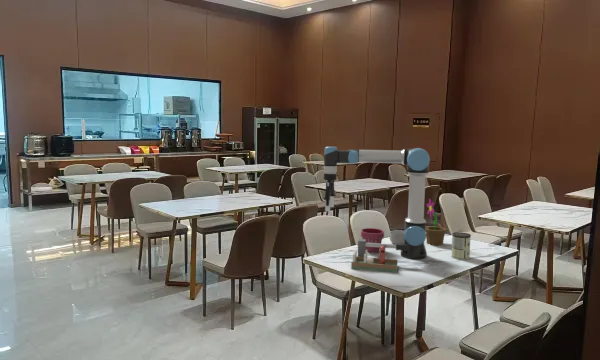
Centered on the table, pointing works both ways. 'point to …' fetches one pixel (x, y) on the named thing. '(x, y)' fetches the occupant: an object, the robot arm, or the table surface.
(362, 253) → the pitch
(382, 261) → the slider
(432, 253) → the table surface
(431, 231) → the flowerpot
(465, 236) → the coffee can
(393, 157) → the robot arm
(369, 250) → the plant pot
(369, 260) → the ball
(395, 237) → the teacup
